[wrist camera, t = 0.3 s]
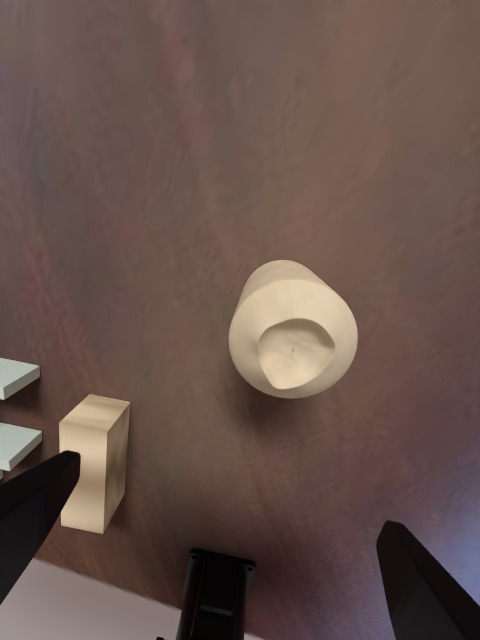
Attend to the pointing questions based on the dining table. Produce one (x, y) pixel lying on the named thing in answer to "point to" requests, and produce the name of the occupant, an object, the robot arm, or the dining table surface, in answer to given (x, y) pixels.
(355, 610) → the dining table surface
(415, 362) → the dining table surface
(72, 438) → the tan wooden block
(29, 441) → the rail
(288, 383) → the candle
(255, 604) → the dining table surface
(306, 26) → the dining table surface
